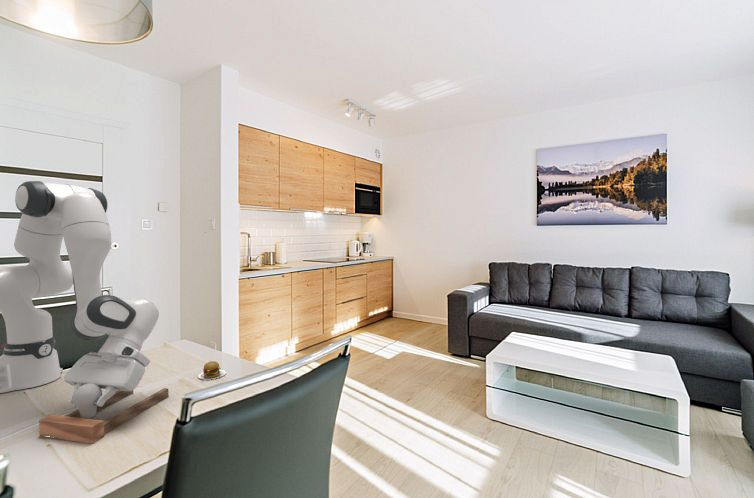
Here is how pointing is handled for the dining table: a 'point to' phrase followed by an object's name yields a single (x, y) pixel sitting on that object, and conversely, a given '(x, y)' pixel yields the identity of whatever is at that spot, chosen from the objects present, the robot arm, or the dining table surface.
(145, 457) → the dining table surface
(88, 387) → the lightbulb
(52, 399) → the dining table surface
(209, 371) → the hamburger
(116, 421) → the guide track
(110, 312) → the robot arm
